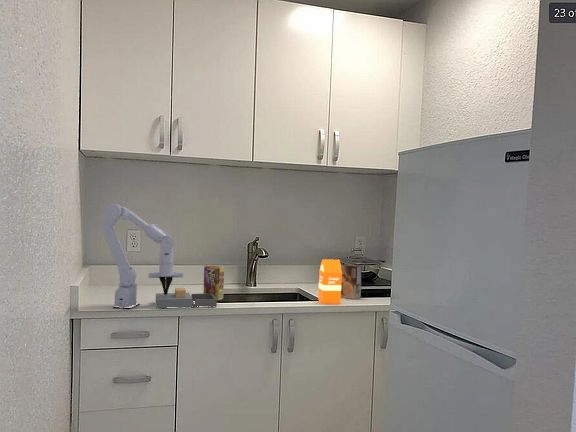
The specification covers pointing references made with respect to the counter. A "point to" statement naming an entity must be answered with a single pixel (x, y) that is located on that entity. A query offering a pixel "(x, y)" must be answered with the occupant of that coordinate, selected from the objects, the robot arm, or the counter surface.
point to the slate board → (173, 300)
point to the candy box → (214, 281)
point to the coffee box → (351, 281)
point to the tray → (204, 299)
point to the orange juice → (330, 281)
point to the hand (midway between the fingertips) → (165, 294)
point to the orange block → (180, 292)
